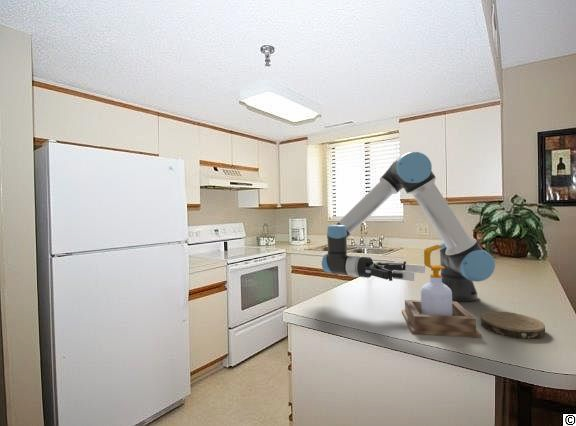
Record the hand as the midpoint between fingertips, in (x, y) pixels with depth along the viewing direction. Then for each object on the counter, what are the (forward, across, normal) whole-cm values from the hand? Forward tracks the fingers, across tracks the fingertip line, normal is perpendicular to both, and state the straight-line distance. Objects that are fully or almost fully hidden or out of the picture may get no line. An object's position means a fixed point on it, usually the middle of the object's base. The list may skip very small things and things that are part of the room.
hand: (419, 272), depth 101 cm
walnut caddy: (+5, 0, -16) cm, 17 cm away
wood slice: (+24, -8, -17) cm, 31 cm away
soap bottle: (+5, 0, -15) cm, 16 cm away
